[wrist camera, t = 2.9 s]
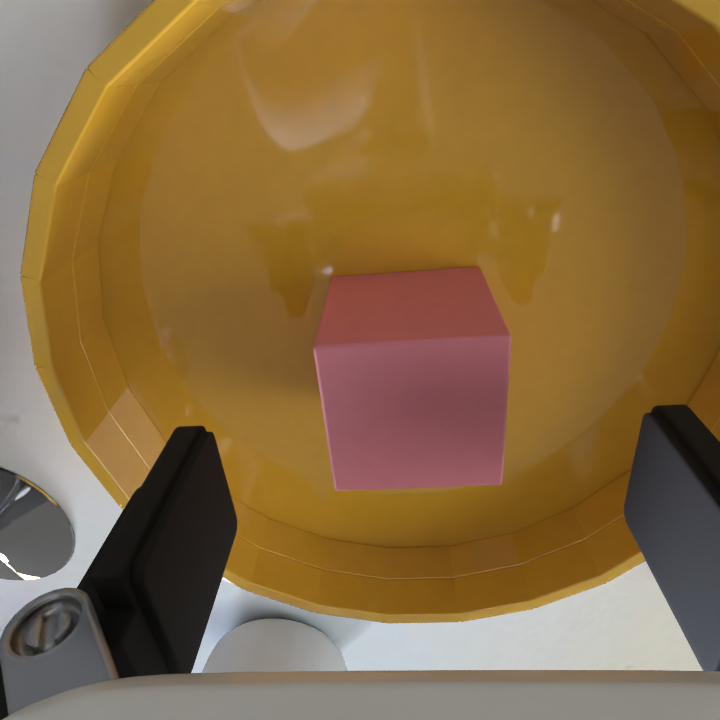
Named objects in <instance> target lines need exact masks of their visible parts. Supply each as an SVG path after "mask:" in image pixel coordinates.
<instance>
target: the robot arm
mask: <svg viewBox="0 0 720 720" xmlns="http://www.w3.org/2000/svg"><path fill="white" fill-rule="evenodd" d="M624 516H625V520H626V523H627V525H628V527H629V529H630V531H631V533H632V535H633V537H634V539H635V541H636V542H637V544H638V546H639V548H640V550H641V552H642V554H643V556H644V558H645V560H646V562H647V564H648V566H649V567H650V569H651V571H652V573H653V575H654V577H655V579H656V581H657V583H658V585H659V587H660V589H661V591H662V593H663V594H664V596H665V598H666V600H667V602H668V604H669V606H670V608H671V610H672V612H673V614H674V616H675V618H676V619H677V621H678V623H679V625H680V627H681V629H682V631H683V633H684V635H685V637H686V639H687V641H688V643H689V644H690V646H691V648H692V650H693V652H694V654H695V656H696V658H697V660H698V662H699V664H700V666H701V667H702V669H703V671H663V670H436V671H292V672H225V673H191V671H192V669H193V666H194V663H195V660H196V656H197V653H198V650H199V647H200V644H201V641H202V638H203V635H204V632H205V629H206V626H207V623H208V620H209V616H210V613H211V610H212V607H213V604H214V601H215V598H216V595H217V592H218V589H219V586H220V583H221V579H222V576H223V573H224V570H225V567H226V564H227V561H228V558H229V555H230V552H231V549H232V546H233V542H234V539H235V536H236V533H237V524H238V523H237V516H236V512H235V508H234V505H233V501H232V497H231V494H230V490H229V487H228V483H227V479H226V476H225V472H224V468H223V465H222V461H221V457H220V454H219V450H218V447H217V443H216V439H215V436H214V434H213V432H207V431H206V429H205V427H204V426H179V427H176V429H175V430H174V431H173V433H172V435H171V436H170V438H169V440H168V441H167V443H166V445H165V447H164V448H163V450H162V452H161V453H160V455H159V457H158V458H157V460H156V462H155V464H154V465H153V467H152V469H151V470H150V472H149V474H148V475H147V477H146V479H145V481H144V482H143V484H142V486H141V487H139V488H137V490H136V491H135V492H134V493H133V495H132V496H131V498H130V500H129V502H128V503H127V505H126V507H125V508H124V510H123V512H122V513H121V515H120V517H119V518H118V520H117V522H116V523H115V525H114V527H113V528H112V530H111V532H110V533H109V535H108V537H107V538H106V540H105V542H104V543H103V545H102V547H101V549H100V550H99V552H98V554H97V555H96V557H95V559H94V560H93V562H92V564H91V565H90V567H89V569H88V570H87V572H86V574H85V575H84V577H83V579H82V580H81V582H80V584H79V585H78V587H77V588H63V589H58V590H53V591H51V592H48V593H46V594H44V595H41V596H39V597H38V598H36V599H34V600H33V601H31V602H30V603H28V604H27V605H25V606H24V607H23V608H22V609H21V610H20V611H19V612H18V613H17V614H15V615H14V617H13V618H12V619H11V621H10V622H9V623H8V624H7V626H6V627H5V629H4V631H3V634H2V636H1V638H0V720H720V442H719V441H718V439H717V438H716V437H715V436H714V435H713V434H712V433H711V431H710V430H709V429H708V428H707V427H706V426H705V425H704V423H703V422H702V421H701V420H700V419H699V418H698V417H697V416H696V414H695V413H694V412H693V411H692V410H691V409H690V408H689V407H688V406H687V405H684V404H680V405H658V406H654V407H653V409H652V410H651V413H645V414H644V416H643V418H642V423H641V427H640V432H639V437H638V442H637V446H636V451H635V456H634V461H633V465H632V470H631V475H630V479H629V484H628V489H627V494H626V498H625V503H624Z"/></svg>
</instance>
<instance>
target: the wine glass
mask: <svg viewBox="0 0 720 720" xmlns="http://www.w3.org/2000/svg"><path fill="white" fill-rule="evenodd" d="M74 547H75V538H74V532H73V529H72V526H71V524H70V521H69V520H68V518H67V517H66V515H65V513H64V512H63V510H62V509H61V508H60V507H59V506H58V505H57V503H56V502H55V501H54V500H53V499H52V498H50V497H49V496H48V495H47V494H46V493H45V492H44V491H42V490H41V489H40V488H38V487H37V486H35V485H34V484H32V483H31V482H29V481H28V480H26V479H24V478H22V477H20V476H18V475H16V474H14V473H12V472H10V471H7V470H5V469H2V468H0V578H1V579H7V580H31V579H37V578H42V577H46V576H48V575H51V574H53V573H55V572H57V571H58V570H60V569H61V568H63V567H64V566H65V565H66V564H67V563H68V561H69V560H70V559H71V557H72V554H73V552H74Z"/></svg>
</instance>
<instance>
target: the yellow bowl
mask: <svg viewBox="0 0 720 720" xmlns="http://www.w3.org/2000/svg"><path fill="white" fill-rule="evenodd" d="M35 173H36V174H35V175H34V181H33V189H32V196H31V203H30V210H29V217H28V224H27V231H26V239H25V246H24V253H23V260H22V267H21V275H22V276H21V283H22V289H23V296H24V302H25V308H26V314H27V321H28V327H29V333H30V339H31V346H32V352H33V358H34V364H35V366H36V370H37V373H38V375H39V377H40V379H41V381H42V383H43V386H44V388H45V390H46V392H47V394H48V397H49V399H50V401H51V403H52V405H53V407H54V410H55V412H56V414H57V416H58V418H59V421H60V423H61V425H62V427H63V429H64V431H65V434H66V436H67V438H68V440H69V442H70V444H71V446H72V447H73V448H74V450H75V451H76V452H77V453H78V455H79V456H80V457H81V458H82V460H83V461H84V462H85V464H86V465H87V466H88V467H89V469H90V470H91V471H92V472H93V474H94V475H95V476H96V477H97V479H98V480H99V481H100V482H101V484H102V485H103V486H104V487H105V489H106V490H107V491H108V492H109V494H110V495H111V496H112V497H113V499H114V500H115V501H116V503H117V504H118V505H119V506H121V508H122V509H123V510H124V508H125V507H126V505H127V503H128V502H129V500H130V498H131V496H132V495H133V493H134V492H135V491H136V490H137V488H139V487H141V486H142V484H143V482H144V481H145V479H146V477H147V475H148V474H149V472H150V470H151V469H152V467H153V465H154V464H155V462H156V460H157V458H158V457H159V455H160V453H161V452H162V450H163V448H164V447H165V445H166V443H167V441H168V440H169V438H170V436H171V435H172V433H173V431H174V430H175V429H176V427H179V426H204V427H205V429H206V431H207V432H213V434H214V436H215V439H216V443H217V447H218V450H219V454H220V457H221V461H222V465H223V468H224V472H225V476H226V479H227V483H228V487H229V490H230V494H231V497H232V501H233V505H234V508H235V512H236V516H237V523H238V524H237V533H236V536H235V539H234V542H233V546H232V549H231V552H230V555H229V558H228V561H227V564H226V567H225V570H224V573H223V576H222V578H223V579H225V580H227V581H229V582H230V583H232V584H234V585H236V586H238V587H240V588H242V589H245V590H246V591H249V592H252V593H255V594H258V595H261V596H264V597H268V598H271V599H274V600H277V601H280V602H283V603H286V604H289V605H292V606H295V607H298V608H301V609H305V610H308V611H311V612H315V613H320V614H327V615H334V616H341V617H347V618H354V619H361V620H368V621H374V622H381V623H437V622H459V621H460V622H464V621H470V620H475V619H481V618H486V617H492V616H498V615H503V614H509V613H514V612H520V611H526V610H531V609H534V608H538V607H541V606H543V605H546V604H549V603H552V602H555V601H557V600H560V599H563V598H566V597H569V596H571V595H574V594H577V593H580V592H583V591H585V590H588V589H591V588H594V587H597V586H599V585H602V584H605V583H607V582H609V581H611V580H613V579H615V578H616V577H618V576H620V575H622V574H623V573H625V572H627V571H629V570H630V569H632V568H634V567H636V566H637V565H639V564H641V563H642V562H644V561H646V560H645V558H644V556H643V554H642V552H641V550H640V548H639V546H638V544H637V542H636V541H635V539H634V537H633V535H632V533H631V531H630V529H629V527H628V525H627V523H626V520H625V516H624V503H625V498H626V494H627V489H628V484H629V479H630V475H631V470H632V465H633V461H634V456H635V451H636V446H637V442H638V437H639V432H640V427H641V423H642V418H643V416H644V414H645V413H651V410H652V409H653V407H654V406H658V405H680V404H684V405H687V406H688V407H689V408H690V409H691V410H692V411H693V412H694V413H695V414H696V416H697V417H698V418H699V419H700V420H701V421H702V422H703V423H704V425H705V426H706V427H707V428H708V429H709V430H710V431H711V433H712V434H713V435H714V436H715V437H716V438H717V439H718V441H719V442H720V0H153V1H152V2H151V3H150V4H149V5H148V6H147V7H146V8H145V9H144V10H143V11H142V12H141V13H140V14H139V15H138V16H137V17H136V18H135V19H134V20H133V21H132V22H131V23H130V24H129V25H128V26H127V27H126V28H125V29H124V30H123V31H122V32H121V33H120V34H119V35H118V36H117V37H116V38H115V39H114V40H113V41H112V42H111V43H110V44H109V45H108V46H107V47H106V48H105V49H104V50H103V51H102V52H101V53H100V54H99V55H98V56H97V57H96V58H95V59H94V60H93V61H92V62H91V63H90V64H89V66H88V68H87V69H85V71H84V73H83V75H82V77H81V79H80V81H79V83H78V86H77V88H76V90H75V92H74V94H73V96H72V98H71V100H70V102H69V104H68V106H67V108H66V110H65V112H64V114H63V116H62V118H61V120H60V122H59V124H58V126H57V128H56V130H55V132H54V134H53V136H52V138H51V140H50V143H49V145H48V147H47V149H46V151H45V153H44V155H43V157H42V159H41V161H40V163H39V165H38V167H37V169H36V171H35ZM467 267H480V268H481V270H482V272H483V275H484V277H485V279H486V281H487V283H488V286H489V288H490V290H491V292H492V295H493V297H494V299H495V301H496V303H497V306H498V308H499V310H500V312H501V315H502V317H503V319H504V321H505V323H506V326H507V328H508V330H509V332H510V335H511V353H510V370H509V386H508V402H507V418H506V434H505V450H504V466H503V481H502V484H501V485H486V486H457V487H429V488H401V489H373V490H345V491H337V490H335V488H334V483H333V477H332V470H331V463H330V457H329V450H328V443H327V437H326V430H325V423H324V417H323V410H322V403H321V397H320V390H319V384H318V377H317V370H316V364H315V357H314V350H313V347H314V343H315V339H316V335H317V331H318V327H319V323H320V319H321V315H322V311H323V307H324V303H325V299H326V295H327V291H328V287H329V283H330V279H331V277H335V276H350V275H364V274H379V273H394V272H408V271H423V270H438V269H452V268H467Z"/></svg>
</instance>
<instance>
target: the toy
mask: <svg viewBox="0 0 720 720" xmlns="http://www.w3.org/2000/svg"><path fill="white" fill-rule="evenodd" d="M313 350H314V357H315V364H316V370H317V377H318V384H319V390H320V397H321V403H322V410H323V417H324V423H325V430H326V437H327V443H328V450H329V457H330V463H331V470H332V477H333V483H334V488H335V490H337V491H345V490H373V489H401V488H429V487H457V486H486V485H501V484H502V481H503V466H504V450H505V434H506V418H507V402H508V386H509V370H510V353H511V335H510V332H509V330H508V328H507V326H506V323H505V321H504V319H503V317H502V315H501V312H500V310H499V308H498V306H497V303H496V301H495V299H494V297H493V295H492V292H491V290H490V288H489V286H488V283H487V281H486V279H485V277H484V275H483V272H482V270H481V268H480V267H467V268H452V269H438V270H423V271H408V272H394V273H379V274H364V275H350V276H335V277H331V279H330V283H329V287H328V291H327V295H326V299H325V303H324V307H323V311H322V315H321V319H320V323H319V327H318V331H317V335H316V339H315V343H314V347H313Z"/></svg>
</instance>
